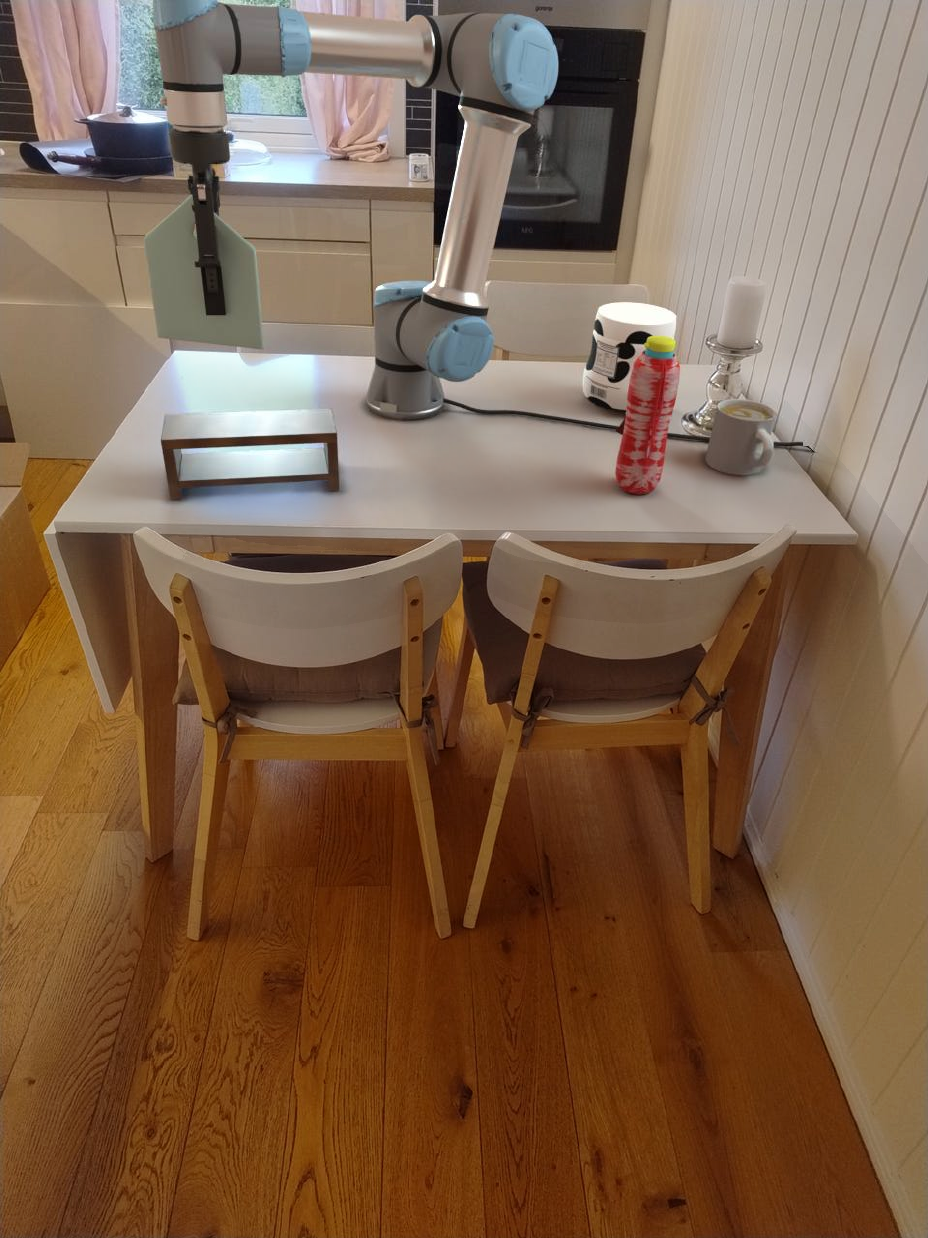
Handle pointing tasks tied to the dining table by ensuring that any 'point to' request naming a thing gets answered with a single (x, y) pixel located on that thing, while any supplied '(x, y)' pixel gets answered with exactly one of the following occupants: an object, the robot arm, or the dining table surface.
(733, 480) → the dining table surface
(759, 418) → the coffee mug
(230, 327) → the planter
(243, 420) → the shelf
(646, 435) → the water bottle
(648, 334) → the milk container
